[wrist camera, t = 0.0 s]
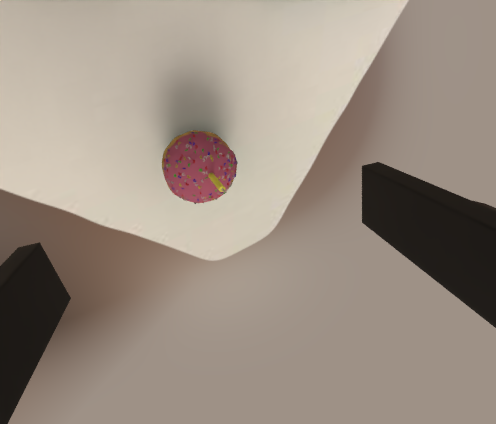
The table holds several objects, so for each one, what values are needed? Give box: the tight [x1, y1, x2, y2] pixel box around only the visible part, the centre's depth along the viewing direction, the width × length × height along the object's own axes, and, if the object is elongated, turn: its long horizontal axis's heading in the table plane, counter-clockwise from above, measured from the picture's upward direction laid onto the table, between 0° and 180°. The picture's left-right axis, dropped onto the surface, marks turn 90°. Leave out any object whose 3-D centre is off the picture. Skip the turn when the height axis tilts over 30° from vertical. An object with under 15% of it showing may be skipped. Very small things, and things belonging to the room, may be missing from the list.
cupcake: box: [162, 130, 238, 204], centre depth 34 cm, size 9×8×12 cm
